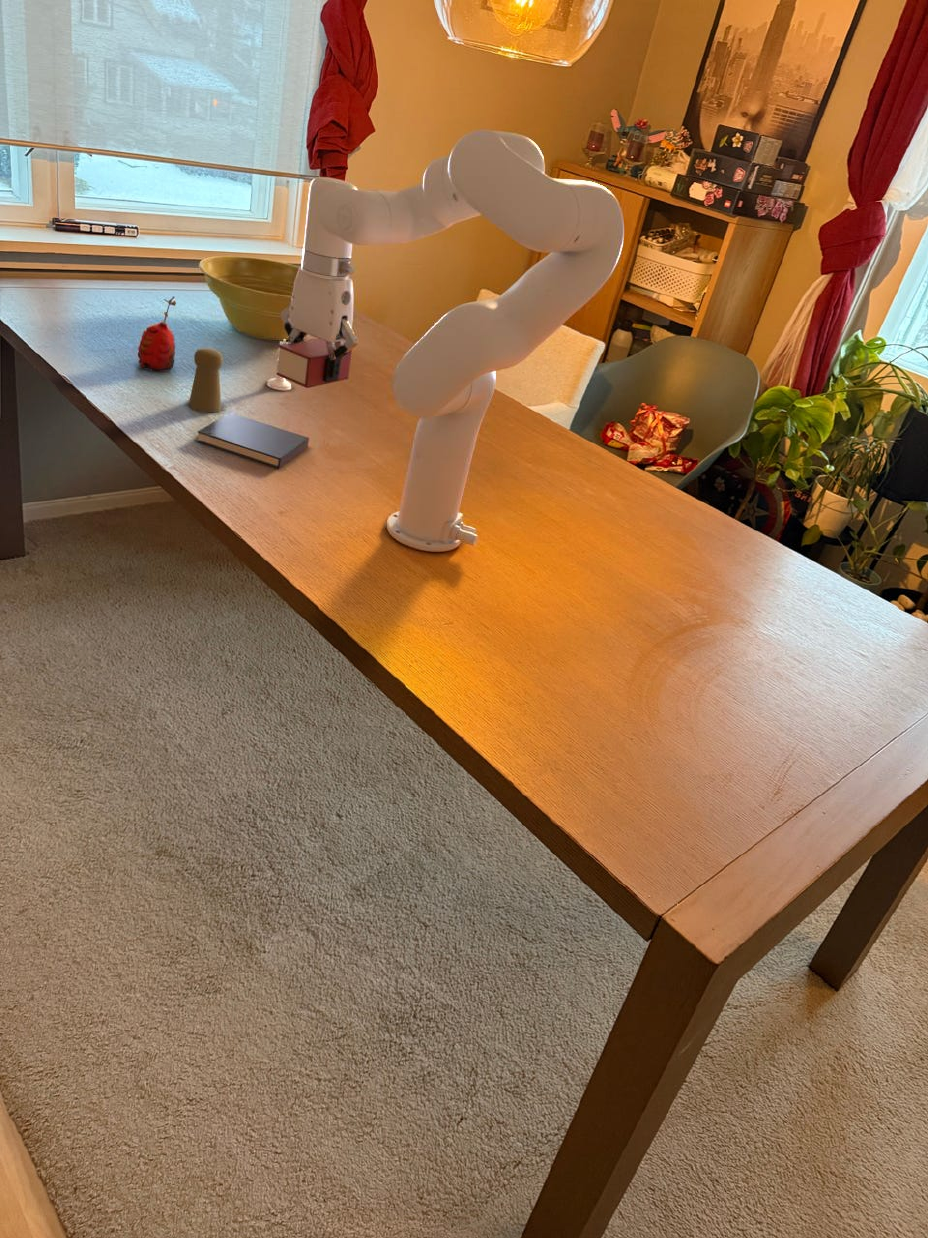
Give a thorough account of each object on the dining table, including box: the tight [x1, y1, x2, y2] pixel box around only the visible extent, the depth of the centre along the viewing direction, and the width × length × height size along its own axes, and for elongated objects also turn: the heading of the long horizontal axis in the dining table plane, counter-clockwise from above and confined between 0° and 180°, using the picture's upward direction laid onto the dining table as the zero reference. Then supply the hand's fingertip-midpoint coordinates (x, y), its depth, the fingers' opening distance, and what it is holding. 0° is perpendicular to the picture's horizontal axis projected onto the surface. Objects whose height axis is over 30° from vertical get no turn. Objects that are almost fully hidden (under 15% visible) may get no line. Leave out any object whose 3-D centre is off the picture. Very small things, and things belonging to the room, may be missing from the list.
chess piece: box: [266, 339, 292, 391], centre depth 190 cm, size 5×5×10 cm
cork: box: [188, 347, 224, 413], centre depth 173 cm, size 6×6×11 cm
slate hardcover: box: [196, 411, 310, 469], centre depth 165 cm, size 16×12×2 cm
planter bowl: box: [198, 255, 300, 341], centre depth 218 cm, size 32×32×13 cm
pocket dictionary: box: [276, 338, 353, 389], centre depth 153 cm, size 7×10×5 cm, turn 147°
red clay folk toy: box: [137, 296, 177, 372], centre depth 183 cm, size 8×7×15 cm
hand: (313, 372), depth 154 cm, fingers closed on pocket dictionary, 6 cm apart
